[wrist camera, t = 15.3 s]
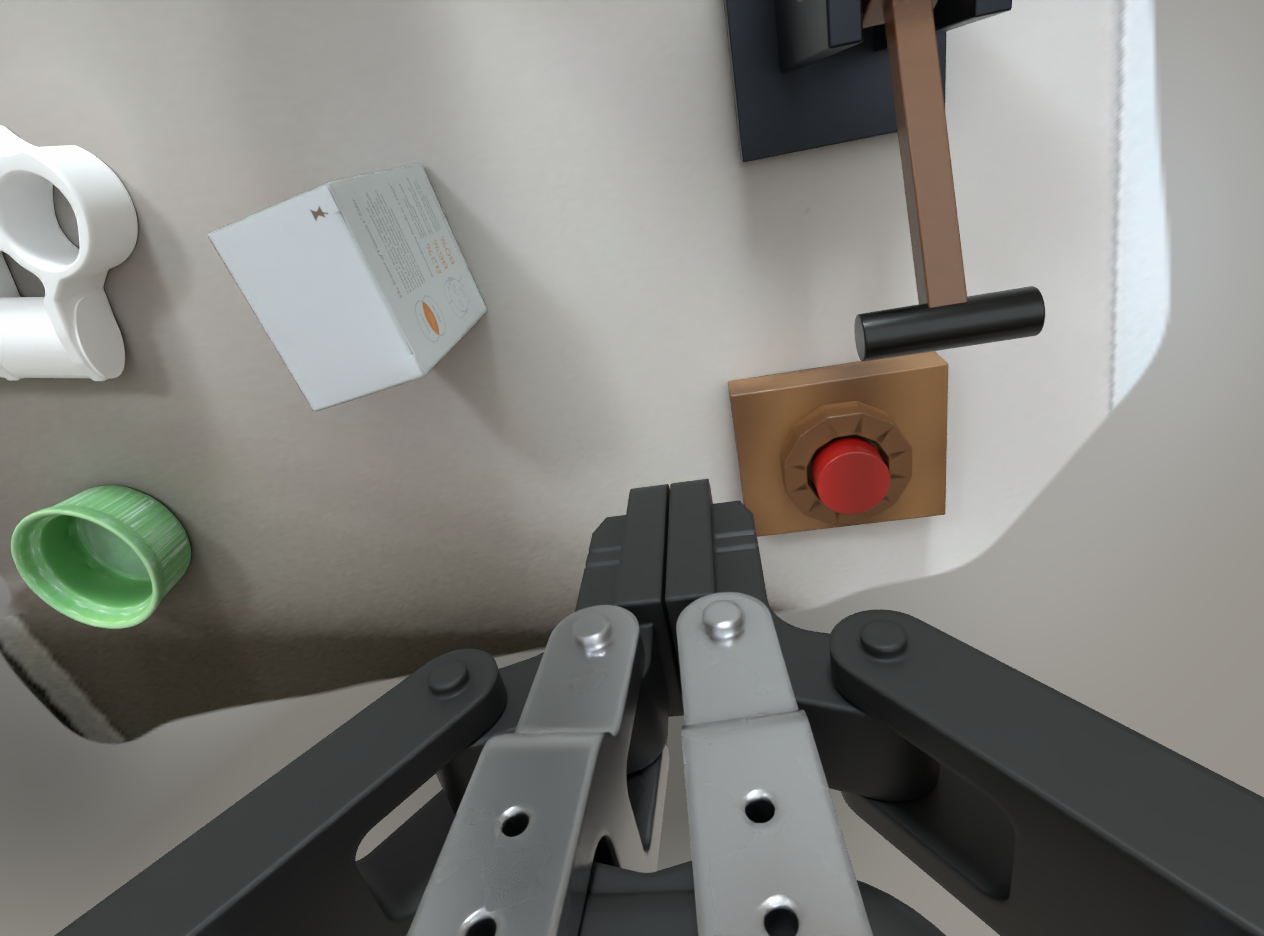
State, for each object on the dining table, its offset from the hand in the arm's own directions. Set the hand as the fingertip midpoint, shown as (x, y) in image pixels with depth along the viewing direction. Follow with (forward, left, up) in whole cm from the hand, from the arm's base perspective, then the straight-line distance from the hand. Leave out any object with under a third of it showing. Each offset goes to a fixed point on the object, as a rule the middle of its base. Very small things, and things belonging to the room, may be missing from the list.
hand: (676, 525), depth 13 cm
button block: (+7, -11, -25) cm, 28 cm away
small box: (-14, +3, -25) cm, 29 cm away
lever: (+8, +5, -13) cm, 16 cm away
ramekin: (-39, -11, -25) cm, 48 cm away
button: (+7, -11, -21) cm, 25 cm away
